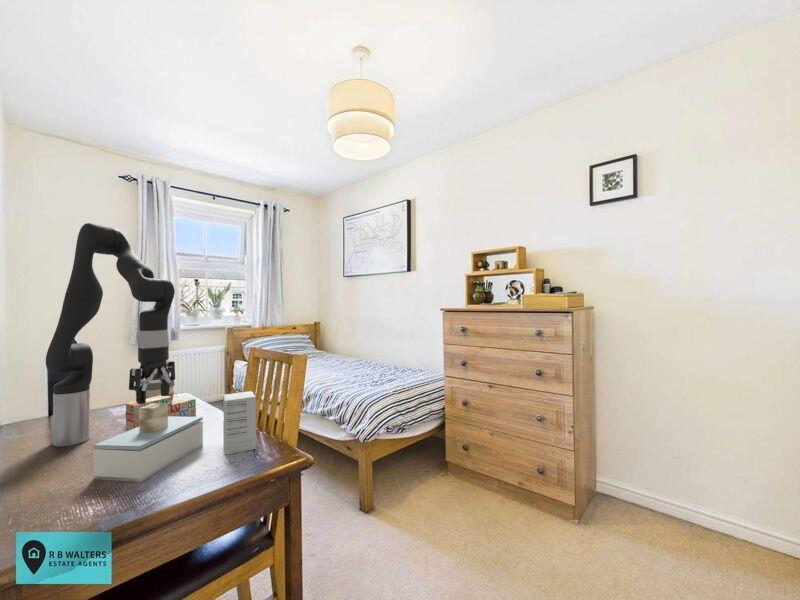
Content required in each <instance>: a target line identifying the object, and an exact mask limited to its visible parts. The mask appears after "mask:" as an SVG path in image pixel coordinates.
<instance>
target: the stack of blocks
mask: <svg viewBox="0 0 800 600" xmlns="http://www.w3.org/2000/svg"><path fill="white" fill-rule="evenodd" d="M153 403H168V416H175V417H197V406H196V405H197V404H196V403H197V402H196V398H193V397H187V396H186V397H182V398H177V399H173V400H172V397H170V396H161V395H160V396H156V397H151V398H147V399H146V403H144V404H137V402H136V400H134V401H130V402H126V403H125V432H127V431H129V430H132V429H134V428H137V427H139V408H141V407H144V406H147V405H150V404H153Z"/></svg>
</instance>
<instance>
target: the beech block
mask: <svg viewBox="0 0 800 600" xmlns="http://www.w3.org/2000/svg"><path fill="white" fill-rule="evenodd" d="M166 427H168V403H153V404H150V405H147V406H144V407H141V408H139V432H157V431H159V430H162V429H164V428H166Z"/></svg>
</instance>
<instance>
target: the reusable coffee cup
mask: <svg viewBox="0 0 800 600" xmlns="http://www.w3.org/2000/svg"><path fill="white" fill-rule="evenodd" d="M161 384H162V383H161V382H160V380H159V379H155V380H152V381H151V383H150V384H148V385H147V387H146V389H145V390H144V391H146V399H147V398H151V397H156V396H160V395H161ZM142 385H143V384H142ZM142 385H141V386H142ZM174 386H175V380H172V381H171V382H170V383H169V395H168V396H170V397H172V400H174V394H175V392H174Z"/></svg>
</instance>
